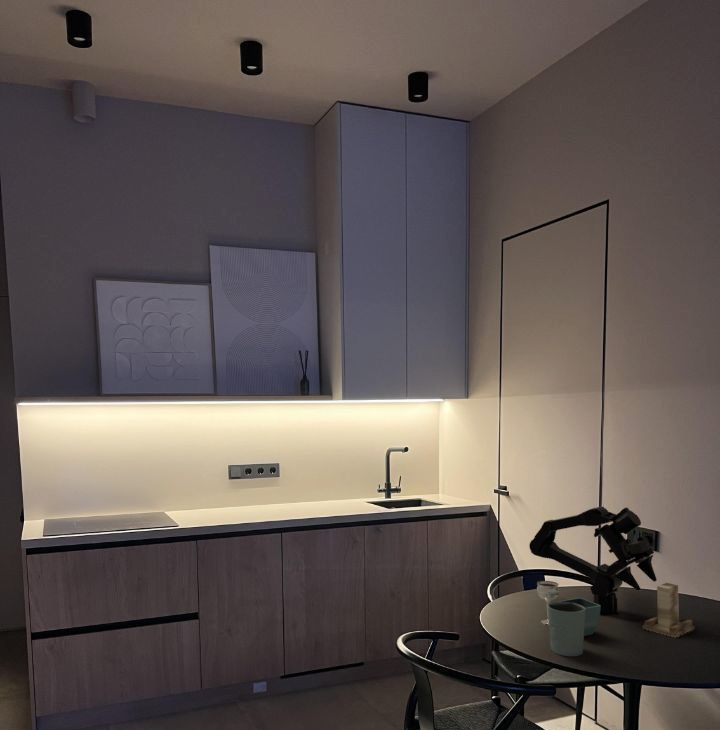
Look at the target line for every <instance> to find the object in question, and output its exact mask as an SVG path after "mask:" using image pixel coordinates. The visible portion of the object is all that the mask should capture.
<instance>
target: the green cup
mask: <svg viewBox="0 0 720 730" xmlns="http://www.w3.org/2000/svg"><path fill="white" fill-rule="evenodd" d="M547 607H548V616H547V618H548V617H549V625H548V626H549V627H548V628H549V630H548V631H549V638H550V649H551V651H552V653H554V654H557V655H559V656H564V657H578V656H581V655H583V652H584V638H585V636H584V620H585V610H586V609H585V607H584V606H582V605H579V604H576V603H570V602H559V601H551V602H549V604H548V605H547V604H546V608H547Z"/></svg>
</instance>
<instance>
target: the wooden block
mask: <svg viewBox="0 0 720 730" xmlns="http://www.w3.org/2000/svg"><path fill="white" fill-rule="evenodd" d="M656 590H657V591H656V592H657V594H656V595H657V597H656V598H657V616H658V626H659V627H662V628H666V629H669V628H670V627H672V626H675V625H677V624H679V622H680V614H679V613H680V611H679V610H680V608H679V607H680V606H679V585H678V584H674V583H669V582H665V583H662V584H659V585H657V586H656Z"/></svg>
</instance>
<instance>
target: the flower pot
mask: <svg viewBox="0 0 720 730" xmlns="http://www.w3.org/2000/svg"><path fill="white" fill-rule="evenodd" d="M558 602H570V603H576V604H579V605H582V606H584V607H585V609H586V610H585V620H584V637H586V636H592V635H593V634H594V633H595V632H596V630H597V628H598V625H599V622H600V617H601V615H600V608H601V606H600V605H598V604H596V603H594V601H593V602H592V601H590V600H588V599H585V598H582V597H575V598H570V599H565V600H559V601H558Z"/></svg>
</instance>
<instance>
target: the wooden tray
mask: <svg viewBox="0 0 720 730" xmlns="http://www.w3.org/2000/svg"><path fill="white" fill-rule="evenodd" d="M644 629H646V630H645V631H648V630H649V632H652V631H653V632H652V633H655V632H656V633H657V634H659V633H660V634H659V635H663V634H664V635H663V636H666V635H667V637H670V636H671V638H673V637H674V639H677V638H679V637H681V636H683V635H686V634H687V632H688V633H690V632H692V631H694V630H695V629H696V628H695V625H693V620H692V619H687V620H684V621H682V622H681V621H679V624H677V625H675V626H672V627H670V628H669V629H666V628H662V627H659V626H658V615H656V616H654V617H652V618H649V619H647V620H644V624H643V626H642V630H644ZM689 631H690V632H689ZM656 633H655V634H656ZM685 633H686V634H685ZM680 635H681V636H680ZM676 637H677V638H676Z"/></svg>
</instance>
